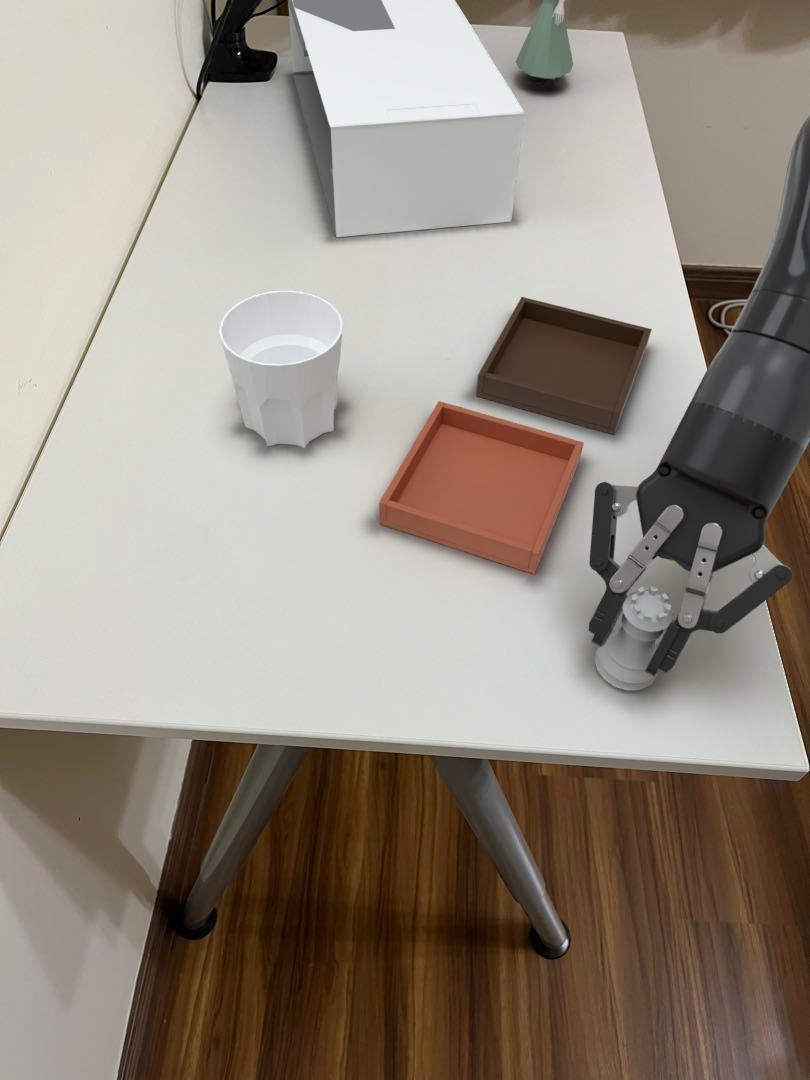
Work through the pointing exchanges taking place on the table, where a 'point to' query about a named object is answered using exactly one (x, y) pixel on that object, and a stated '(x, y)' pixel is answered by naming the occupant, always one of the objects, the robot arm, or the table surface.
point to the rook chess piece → (634, 640)
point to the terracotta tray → (482, 486)
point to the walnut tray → (564, 364)
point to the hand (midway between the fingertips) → (625, 657)
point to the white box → (404, 115)
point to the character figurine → (547, 46)
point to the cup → (284, 364)
